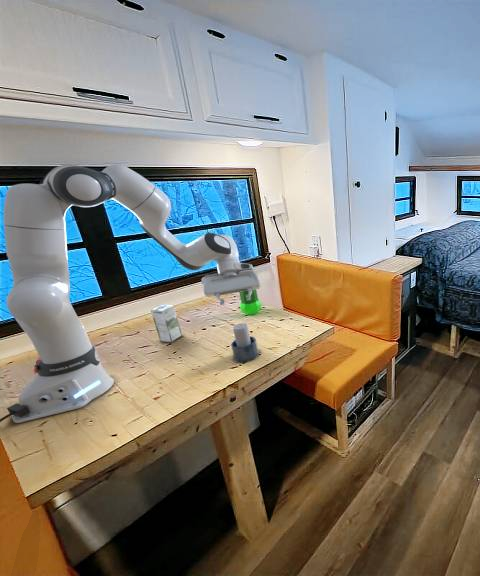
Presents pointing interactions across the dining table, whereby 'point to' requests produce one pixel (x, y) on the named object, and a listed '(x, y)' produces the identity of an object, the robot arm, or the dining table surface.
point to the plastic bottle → (250, 302)
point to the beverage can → (241, 335)
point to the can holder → (245, 351)
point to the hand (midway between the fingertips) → (235, 301)
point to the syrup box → (166, 323)
